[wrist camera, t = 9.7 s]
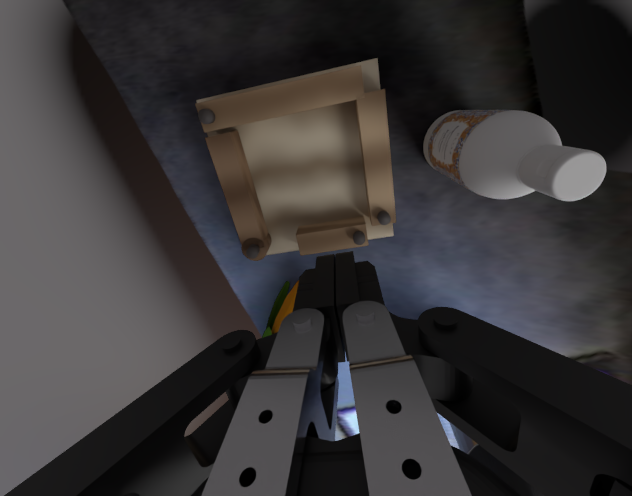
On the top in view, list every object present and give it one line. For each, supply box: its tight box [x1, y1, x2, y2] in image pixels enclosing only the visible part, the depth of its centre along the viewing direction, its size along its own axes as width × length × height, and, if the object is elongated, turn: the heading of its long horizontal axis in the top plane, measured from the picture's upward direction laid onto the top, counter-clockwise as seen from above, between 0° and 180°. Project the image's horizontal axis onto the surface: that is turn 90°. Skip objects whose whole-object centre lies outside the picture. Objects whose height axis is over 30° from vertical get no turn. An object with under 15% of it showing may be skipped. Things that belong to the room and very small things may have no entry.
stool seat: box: [195, 58, 396, 255], centre depth 34 cm, size 20×20×6 cm
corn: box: [262, 281, 299, 338], centre depth 44 cm, size 7×8×20 cm
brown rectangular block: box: [205, 131, 272, 261], centre depth 35 cm, size 15×3×4 cm, turn 12°
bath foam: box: [423, 110, 606, 201], centre depth 26 cm, size 7×7×20 cm
